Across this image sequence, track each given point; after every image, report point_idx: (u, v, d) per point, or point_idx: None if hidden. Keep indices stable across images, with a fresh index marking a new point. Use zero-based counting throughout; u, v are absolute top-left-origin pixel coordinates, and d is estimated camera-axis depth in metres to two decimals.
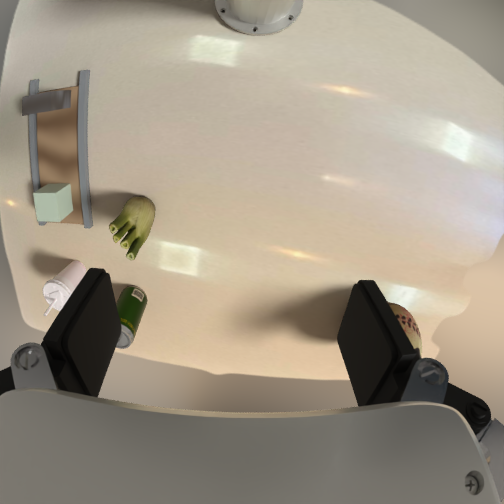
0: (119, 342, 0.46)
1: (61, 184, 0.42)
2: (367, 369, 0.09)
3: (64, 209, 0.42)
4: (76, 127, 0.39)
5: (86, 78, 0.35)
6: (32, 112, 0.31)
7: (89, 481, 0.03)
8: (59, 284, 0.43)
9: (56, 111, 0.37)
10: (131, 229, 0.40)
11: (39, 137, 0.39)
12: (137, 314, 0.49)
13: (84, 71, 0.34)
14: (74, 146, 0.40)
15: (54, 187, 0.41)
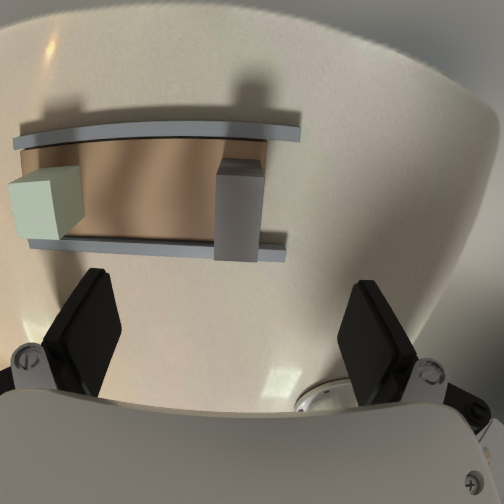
0: None
1: (80, 202, 0.24)
2: (367, 369, 0.09)
3: None
4: (180, 236, 0.26)
5: None
6: (218, 209, 0.19)
7: (89, 481, 0.03)
8: None
9: None
10: None
11: (167, 145, 0.23)
12: None
13: (282, 258, 0.27)
14: (146, 230, 0.26)
15: (70, 203, 0.22)
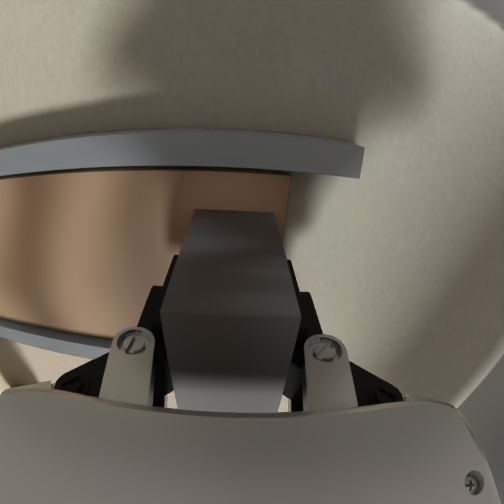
0: None
1: None
2: None
3: None
4: None
5: None
6: (179, 377, 0.07)
7: (89, 481, 0.03)
8: None
9: None
10: None
11: (87, 186, 0.11)
12: None
13: None
14: (81, 324, 0.14)
15: None
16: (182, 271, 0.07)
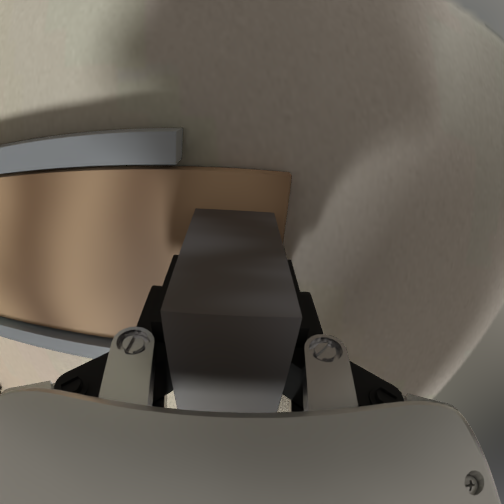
0: None
1: None
2: None
3: None
4: None
5: None
6: (179, 377, 0.07)
7: (89, 481, 0.03)
8: None
9: None
10: None
11: (87, 184, 0.11)
12: None
13: None
14: (80, 323, 0.14)
15: None
16: (182, 270, 0.07)
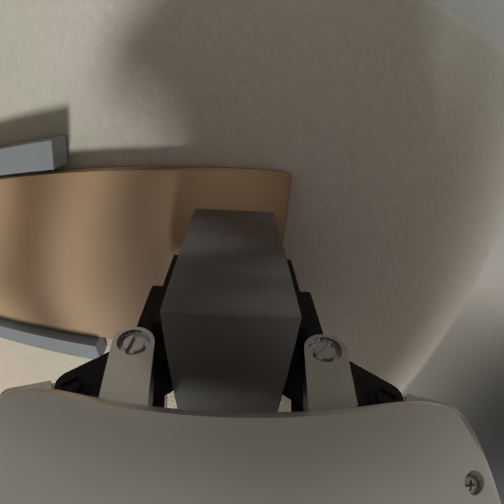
0: None
1: None
2: None
3: None
4: None
5: None
6: (179, 377, 0.07)
7: (89, 481, 0.03)
8: None
9: None
10: None
11: (87, 185, 0.11)
12: None
13: (95, 355, 0.15)
14: (81, 323, 0.14)
15: None
16: (182, 271, 0.07)
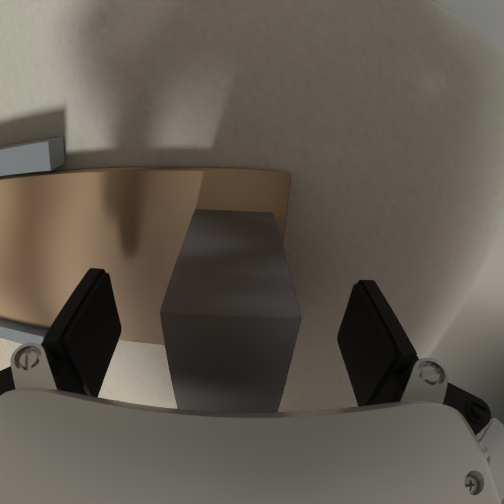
0: None
1: None
2: (367, 369, 0.09)
3: None
4: (135, 337, 0.15)
5: None
6: (179, 378, 0.07)
7: (89, 481, 0.03)
8: None
9: None
10: None
11: (87, 186, 0.11)
12: None
13: None
14: None
15: None
16: (182, 271, 0.07)
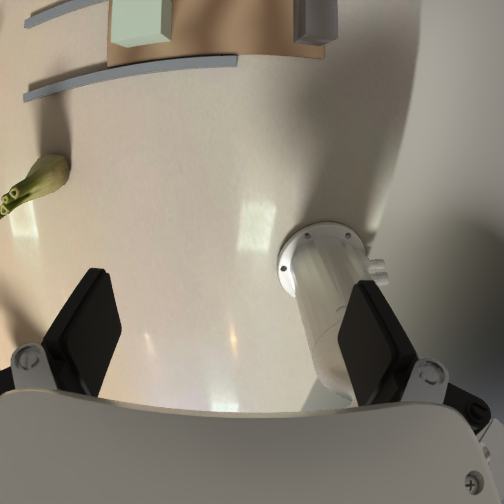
0: None
1: (170, 27, 0.24)
2: (367, 369, 0.09)
3: (130, 42, 0.22)
4: (260, 51, 0.27)
5: (222, 66, 0.27)
6: None
7: (89, 481, 0.03)
8: None
9: (290, 19, 0.25)
10: None
11: None
12: None
13: (234, 62, 0.27)
14: (230, 47, 0.26)
15: (167, 20, 0.22)
16: None
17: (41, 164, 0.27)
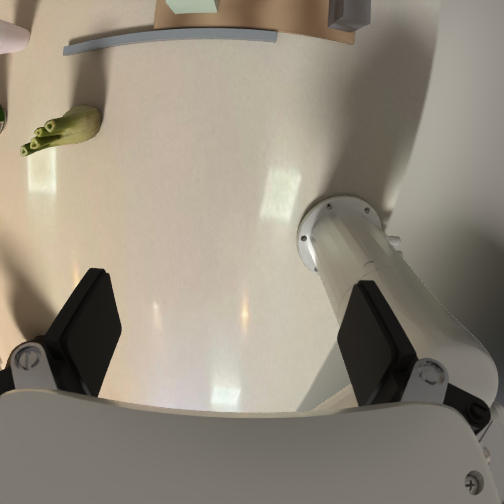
0: None
1: (218, 0, 0.25)
2: (367, 369, 0.09)
3: (182, 6, 0.23)
4: (298, 30, 0.28)
5: (263, 39, 0.28)
6: None
7: (89, 481, 0.03)
8: None
9: (325, 7, 0.26)
10: None
11: None
12: None
13: (274, 37, 0.28)
14: (271, 24, 0.27)
15: None
16: None
17: (75, 110, 0.27)
